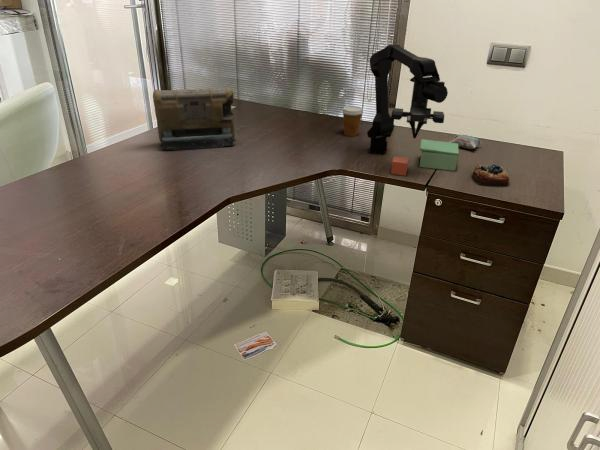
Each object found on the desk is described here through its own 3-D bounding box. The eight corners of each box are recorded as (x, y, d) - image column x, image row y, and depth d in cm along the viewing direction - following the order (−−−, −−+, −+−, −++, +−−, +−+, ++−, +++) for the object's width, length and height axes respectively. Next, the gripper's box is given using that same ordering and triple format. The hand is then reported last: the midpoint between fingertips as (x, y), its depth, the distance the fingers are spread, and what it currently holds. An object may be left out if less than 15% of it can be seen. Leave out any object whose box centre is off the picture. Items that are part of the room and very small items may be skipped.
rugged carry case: (232, 136, 208) (229, 80, 196) (238, 146, 197) (235, 87, 184) (159, 143, 199) (150, 85, 187) (161, 154, 188) (152, 92, 175)
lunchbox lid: (419, 150, 175) (420, 148, 175) (421, 140, 185) (421, 139, 184) (458, 155, 172) (458, 153, 172) (457, 145, 182) (458, 143, 181)
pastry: (469, 173, 173) (472, 159, 170) (500, 174, 173) (504, 159, 170) (477, 185, 163) (481, 170, 160) (511, 186, 163) (515, 171, 160)
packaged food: (473, 153, 192) (476, 141, 190) (447, 146, 199) (449, 135, 196) (481, 148, 198) (484, 137, 196) (455, 142, 205) (457, 131, 202)
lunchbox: (419, 166, 178) (421, 151, 175) (420, 156, 188) (423, 142, 185) (455, 170, 175) (458, 155, 172) (455, 160, 185) (457, 145, 182)
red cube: (390, 173, 172) (392, 161, 169) (392, 168, 177) (393, 156, 174) (405, 175, 171) (407, 163, 168) (407, 170, 175) (408, 158, 173)
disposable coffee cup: (364, 133, 214) (366, 107, 208) (355, 138, 207) (357, 112, 201) (346, 129, 219) (348, 104, 213) (337, 134, 211) (338, 109, 206)
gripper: (392, 99, 158) (387, 142, 166) (447, 103, 154) (440, 147, 162) (394, 92, 167) (390, 133, 175) (446, 96, 164) (439, 137, 171)
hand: (414, 138), depth 171 cm, fingers closed
